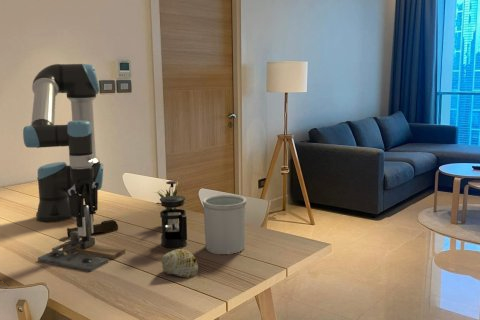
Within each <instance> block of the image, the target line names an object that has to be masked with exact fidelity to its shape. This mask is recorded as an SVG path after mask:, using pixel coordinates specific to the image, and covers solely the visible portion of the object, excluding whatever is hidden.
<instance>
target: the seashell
mask: <svg viewBox="0 0 480 320" xmlns="http://www.w3.org/2000/svg"><path fill="white" fill-rule="evenodd" d="M161 265H162V266H161V268H162V271H163V272H164V273H166V274H167V275H175V276H178V277H181V278H191V277H195V276H197V274H198V272H199V266H198V262H197V258H196V257H195V255H193V254H192V252H190V251H189V250H186V249H182V248H178V249H172V250H171V251H169V252H166V253H165V254H164V255H163V256H162V257H161Z"/></svg>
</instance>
